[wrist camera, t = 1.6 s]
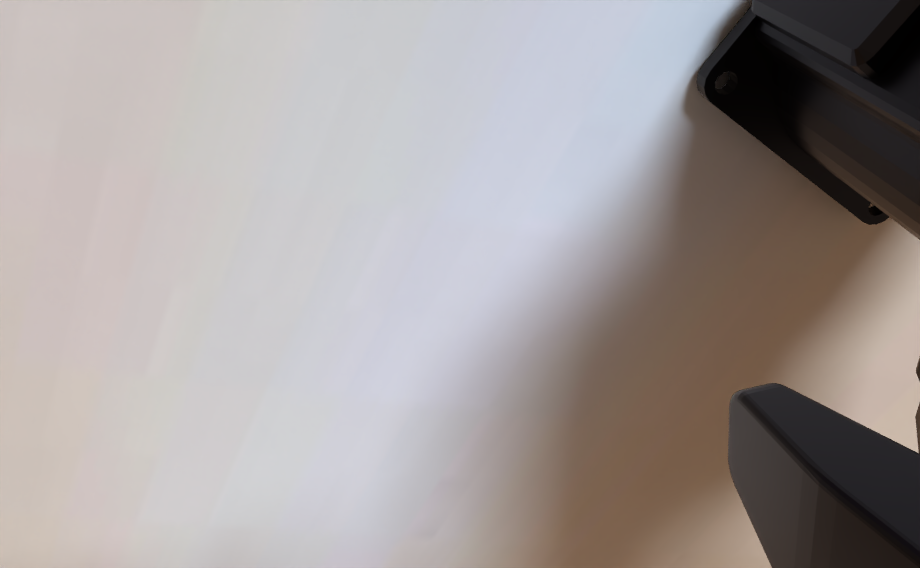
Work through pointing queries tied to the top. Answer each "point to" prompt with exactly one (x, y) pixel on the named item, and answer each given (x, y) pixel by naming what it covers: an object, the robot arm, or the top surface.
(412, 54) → the top surface
